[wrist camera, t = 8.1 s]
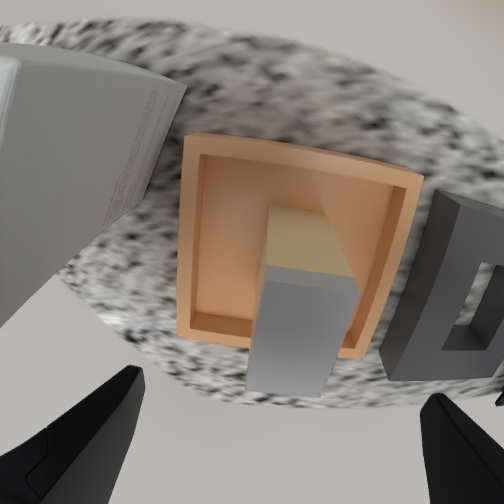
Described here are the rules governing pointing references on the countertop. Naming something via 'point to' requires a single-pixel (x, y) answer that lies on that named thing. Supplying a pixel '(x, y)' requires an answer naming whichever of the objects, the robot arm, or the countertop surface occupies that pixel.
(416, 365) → the gray rectangular frame
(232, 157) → the parts tray
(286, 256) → the block
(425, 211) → the countertop surface
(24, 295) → the supplement box
